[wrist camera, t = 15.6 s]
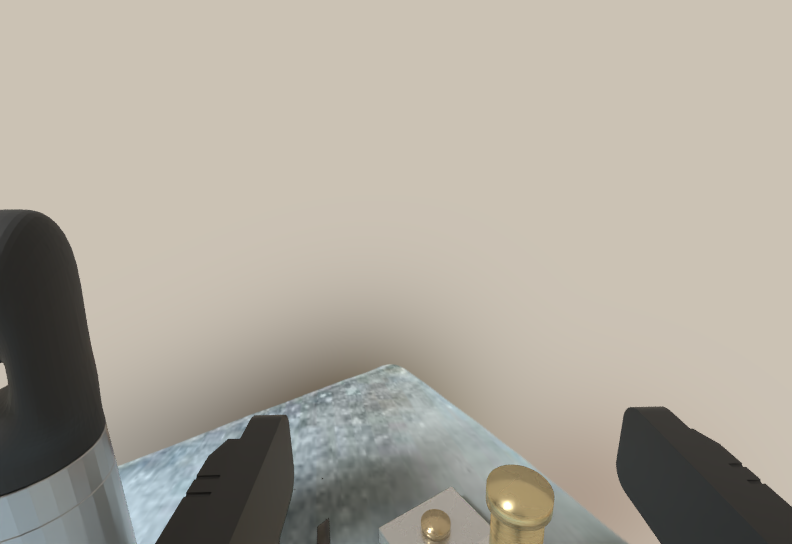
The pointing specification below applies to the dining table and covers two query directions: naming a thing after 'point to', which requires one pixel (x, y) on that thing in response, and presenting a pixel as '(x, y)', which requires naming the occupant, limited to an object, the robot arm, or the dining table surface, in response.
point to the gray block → (437, 523)
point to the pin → (518, 505)
